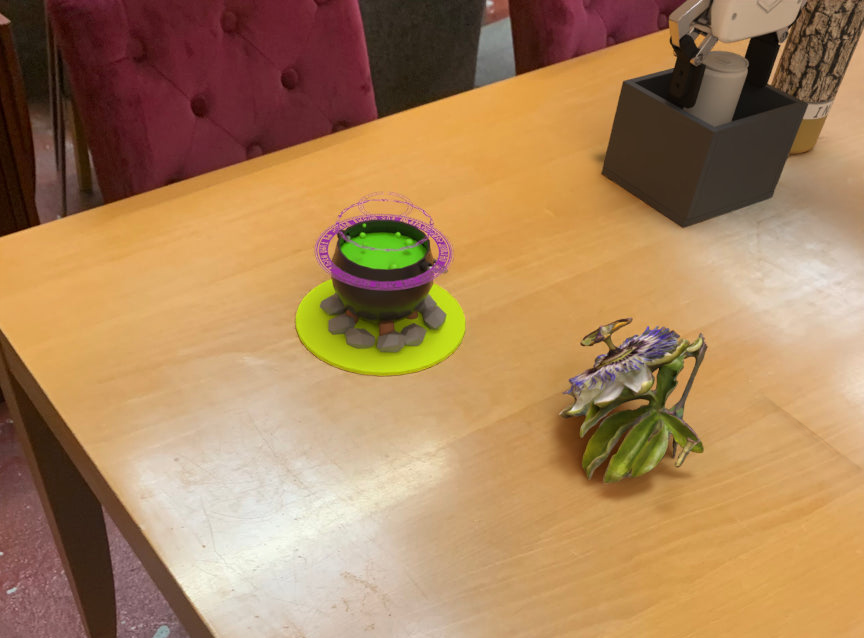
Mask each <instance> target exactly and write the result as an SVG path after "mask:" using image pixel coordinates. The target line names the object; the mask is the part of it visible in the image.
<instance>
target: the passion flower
mask: <svg viewBox="0 0 864 638" xmlns="http://www.w3.org/2000/svg"><path fill="white" fill-rule="evenodd" d="M633 318H634V317H630V316H629V317H627V318H620V319H617V320H614V321H612V322H610V323H607V324H606V325H605V324H604V325H602V324H601V325H599V327H598V328H597V329H595V330H593V331H591V332H589V333H588V334H586V335H585V336H584V337H583V338H582V340H581V341H580V342H579V343H580V346H581V347H593V346H594V345H597V344H599V343H602V342H603V343H605V345H606V346H607V348H608V352H607V353H604V354H603V353H602V354H599V355H597V356H596V357H595V359H594V364H593V366H592V367H591V368H588V369H586V370H584V371H582V372H580V373H578V374H576V375H575V376H574V377H571V378H569V379H568V382H569V383H570V388H569V389H567V390H565V391H563V392H561V394H562V395H570V396H571V397H572V398H573V399H574V402H572V403H569V404H568V405H567V406H565V407H564V408H563V409H562V410H561V411H560V412H559V413H558V416H559V417H560V418H562V419H566V420H568V419H571V418H575V417H583V416H585V418H584V420H583V423H582V424H581V426H580V427H579V437H580V439H583V438H584V437H585V435H586V434H587V433H588V431H589V430H590V429H592V427H595V426H596V425H597V424H598V422H599V421H600V420H601V419H602V420H601V421H600V423H599V426H598V428H597V429H596V430H595V431H594V433H592V435H591V436H590V438H589V439H588V442H587V444H586V447H585V450H584V452H583V453H582V459H581V468H582V469H583V470H584V472H585V473H586V478H587V480H588V481H589V480H591V479H592V477H593V474H594V472H595V470H597V468H599V467H600V466H602V464H603V463H604V462H605V461H606V460H607V459H608V458H609V456H610V454H611V452H612V450H613V449H614V447H615V446H616V445H617V444H618V443H619V440H620V439H621V438H622V436H623V434H625V433H626V432H627V431H628V432H627V433H626V434H625V436H624V439H623V440H622V441H621V444H620V445H619V447H618V449H617V452H616V453H615V454H613V455H612V456H611V458H610V460H609V463H608V466H607V467H606V469H605V472H604V475H603V478H602V483H603V484H606V485H607V484H611V483H616V482H621V481H623V480H625V479H627V478H628V479H636V478H639V477H642V476H643V475H646V474H647V473H649V472H651V471H652V470H654V468H656V466H658V464H659V463H660V462H661V461H662V459H664V457H665V455H666V453H667V450H668V448H669V441H670V438H671V437H672V459H675V458H676V452H677V448H678V445H679V446H680V448H682V451H681V452H680V453H679V454H678V456H677V460H676V461H675V462H674V465H673V466H674V468H680V467H681V466H682V465H683V463H684V462H685V460H686V459H687V456H688V455H689V454H690V453H696V454H703V453H704V451H705V449H704V448H705V447H704V445H703V441H702V440H701V438H700V436H699V435H698V434H697V433H696V431H695V430H694V429H693V428H692V427H691V426H690V425H689V424H688V423H687V422H686V421H685V420H683V419H684V414H685V404H686V401H687V399H688V396H689V394H690V392H691V389H692V387H693V384H694V381H695V379H696V376H697V373H698V371H699V369H700V367H701V365H702V363H703V361H704V359H705V355H706V352H707V349H708V347H709V346H708V345H707V343H706V341H705V339H706V337H704V334H703V333H702V332H700V333H698V337H697V338H696V339H695V340H694V341H693V342H692V343H690V341H689V340H687V339H686V338H684V337H681V335H680V334H678V333H677V332H676V331H675V330H674V329H672V330H670V328H669V327H666V326H662V327H661V328H660V326H659V325H655V327H654V328H653V329H650V326H649V325H647V326H646V328H645V330H644V331H643V332H642V333H640V335H639V334H634V335H633V336H629V337H625V338H626V339H624V340H623V341H622V343H621V344H620V345H619V346H616V345H615V344H614V343H613V340H612V336H613V334H614V333H615V332H617V331H619V330H620V329H622V328H623V327H626V326H627V325H630V324H631V323H632V322H633V320H634V319H633ZM688 358H694V359H695V362H694V366H693V368H692V371H691V373H690V376H689V378H688V380H687V383H686V385H685V387H684V390H683V392H682V394H681V397H680V399H679V400H678V402H676V403H675V404H674V405H672V406H671V407H670V408H669V409H668V408H666V404H667V403H666V402H667V400H668V398H669V396H671V394H672V393H673V392H674V391H675V390H676V388H677V386H678V384H679V381H678V380H677V378H678V376H679V374H680V373H681V372H682V371H683V369H684V368H685V361H684V360H686V359H688ZM655 371H657V374H656V377H655V376H654V374H653V373H654V372H655ZM655 381H656V385H655ZM654 385H655V386H656V387H655V389H653V390H651V389H652V388H653V387H654ZM637 400H645V401H648V404H642V405H641V406H639V407H637V408H636V409H628V408H627V409H624V410H619V411H616V412H613V413H611V414H610V415H608V414H609V413H610V412H612V411H613V410H615V409H616V408H618V407H620V406H621V405H623V404H627V403H629V402H631V401H637ZM607 415H608V416H607ZM603 418H604V419H603Z"/></svg>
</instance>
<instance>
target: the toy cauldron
mask: <svg viewBox="0 0 864 638" xmlns="http://www.w3.org/2000/svg"><path fill="white" fill-rule="evenodd" d="M370 195H372V197H374V196H376V195H377V196H381V195H383V192H380V193H378V191H377V192H376V191H375V192H374V194H373V192H372V193H368V194H366V195H364V196H363V197H361V198H360V200H358V202H356V203H353V204H351V205H350V206H349V207H345V208H343V210H342V211H340V214H338V215H337V219H336V220H335V223H334V224H332V225H331V226H329V227H326V229H324V231H323V232H321V233H320V235H319V236H318V238H317V239H316V240H315V245H314V251H315V253H314V254H313V257H314V256H315V259H316V262H317V264H318V265H319V266H320V267H321V268H323V270H325V272H326V273H327V274H328V275H329V276H330V279H327V280H325V281H323V282H321V283H320V284H318V285H316V286H315V287H314V288H312V289H311V290H310V291H308V293H306V295H305V296H304V297H303V298H302V300H301V301H300V303H299V305H298V307H297V309H296V312H295V313H296V314H295V318H294V319H295V320H294V322H295V323H294V324H295V331H296V333H297V337H298V338H299V340H300V342H301V343H302V344H303V345H304V347H305V348H306V350H307V351H309V352H310V353H311V354H313V356H315V357H316V358H317V359H319V360H321V361H322V362H325V363H326V364H328V365H330V366H332V367H335V368H337V369H341V370H343V371H346V372H350V373H356V374H359V375H366V376H377V377H378V376H380V377H384V376H385V377H387V376H401V375H406V374H407V375H408V374H413V373H417V372H420V371H423V370H426V369H429V368H432V367H434V366H436V365H438V364H440V363H442V362H444V361H445V360H446V359H447V358H448V357H451V355H452V354H454V353H455V352H456V351H457V350H458V348H459V346H460V345H461V344H462V342H463V341H464V337H465V335H466V322H467V321H466V317H465V312H464V310H463V308H462V307H461V305H460V303H459V301H458V300H457V299H456V298H455V297H454V296H453V295H452V294H451V293H450V292H449V291H447V290H446V289H444V288H443V287H441V286H440V285H439V284H437V283H435V282H434V281H435V280H436V278H438V277H439V276H441V275H446V274H448V273H449V269H450V267H451V266H450V265H451V263H453V262H454V260H455V257H453V254H452V253H453V251H455V249H454V248H453V247H454V245H453V243H452V241H450V238H449V237H447V236H446V235H444V234H443V233H442V230H440V229H437V227H434V226H435V225H434V224H435V223H434V220H433V218H432V217H431V215H430V214H429V213H428V212H427V211H426V210H424V209H422V208H421V207H420V206H417V205H415V204H413V201H410V200H409V199H408V197H407V196H404V195H403V194H400V193H397V192H393V191H391V192H389V193H388V195H389V196H390V195H391V196H392V195H394V196H396V197H398V198H401V199H403V200H404V199H405V198H406V201H402V200H397V199H394V200H392V202H394V203H397V204H398V203H399V204H404V205H407V206H409V207H407V209H406V211H404V212H403V213H401V214H392V213H387V215H383V213H376V214H373V213H370V212H368V211H367V210H366V209H365V207H364V206H360V205H363V204H366V203H368V202H371V199H369V197H370ZM366 196H368V197H366ZM364 198H366V200H364ZM380 201H382V202H389V198H387V199H386V198H377V199H372V202H380ZM410 202H411V203H410ZM354 207H358V209H359V211H360V212H361V215H355V216H351V217H348V218H345V219H342V220H341V218H342V216H343V214H345V213H346V212H347V211H348V210H350V209H351V208H354ZM362 209H363V210H364V211H363V210H362ZM413 209H417V210H418V211H419V212H422V214H423V215H424V216H425V217H426V218H430V219H429V223H427V222H425V221H423V220H420V219H417V218H414V217H410V216H409V214H410V212H413ZM409 210H410V212H409ZM364 215H365V216H364ZM335 236H336V237H337V241H336V245H335V250H334V252H333V255H332V258H331V257H330V255H329V245H330V243H331V241H332V239H333V238H334V237H335ZM430 238H432V239H433V241H434V242H435V243H436V246H437V249H438V257H437V259H435V258H434V255H433V252H432V249H431V240H430Z"/></svg>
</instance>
